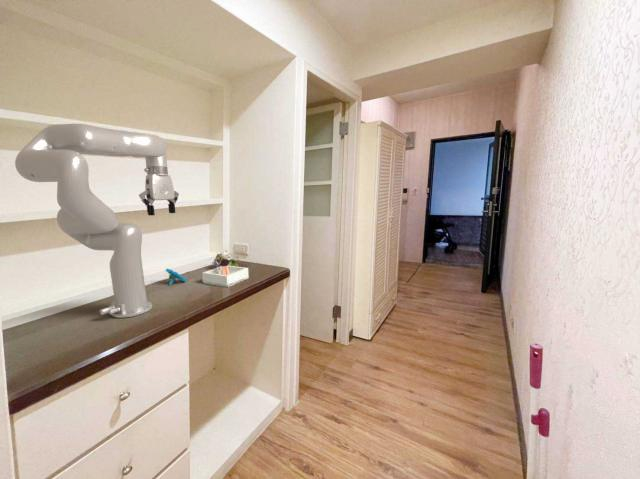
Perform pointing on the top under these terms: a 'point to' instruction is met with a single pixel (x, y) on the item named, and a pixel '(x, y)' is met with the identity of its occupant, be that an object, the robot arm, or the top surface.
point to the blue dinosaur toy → (174, 276)
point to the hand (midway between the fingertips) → (162, 214)
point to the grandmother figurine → (224, 264)
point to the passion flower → (219, 258)
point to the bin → (225, 276)
